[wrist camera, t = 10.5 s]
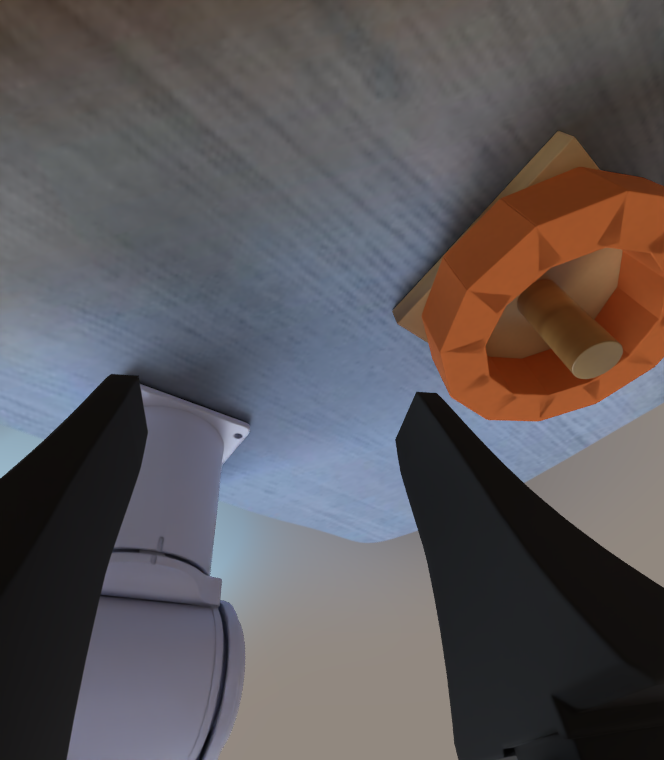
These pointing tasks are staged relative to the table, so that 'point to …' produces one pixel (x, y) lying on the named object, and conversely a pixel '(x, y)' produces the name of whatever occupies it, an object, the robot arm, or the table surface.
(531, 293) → the peg stand
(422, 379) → the table surface
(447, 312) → the rubber ring
